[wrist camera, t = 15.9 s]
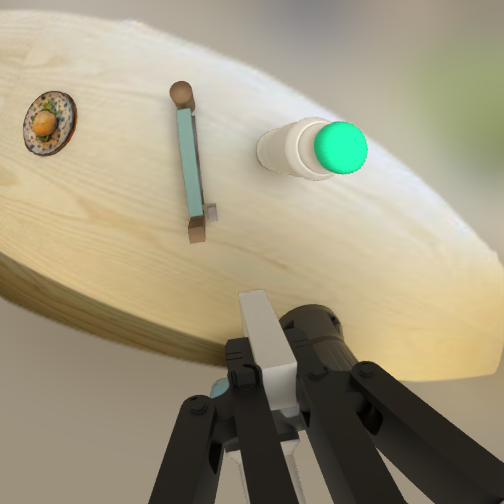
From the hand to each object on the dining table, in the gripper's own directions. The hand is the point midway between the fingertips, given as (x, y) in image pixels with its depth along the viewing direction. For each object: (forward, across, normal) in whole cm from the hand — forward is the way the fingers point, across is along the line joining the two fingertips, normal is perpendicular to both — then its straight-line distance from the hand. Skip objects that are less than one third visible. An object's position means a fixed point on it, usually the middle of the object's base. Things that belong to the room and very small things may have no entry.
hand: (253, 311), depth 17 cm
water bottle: (+33, +10, +9) cm, 35 cm away
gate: (+31, -4, +9) cm, 32 cm away
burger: (+33, -29, +21) cm, 49 cm away
